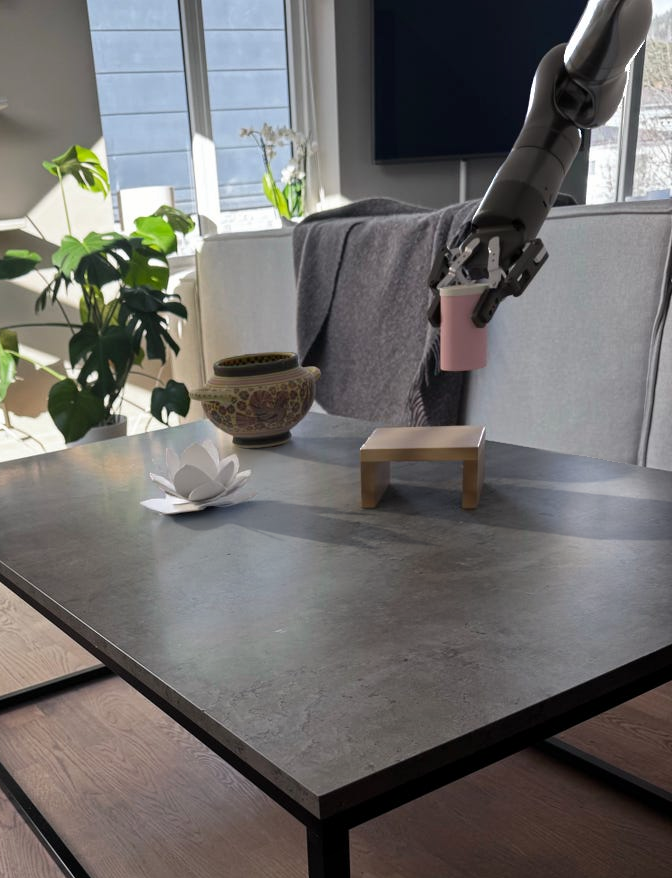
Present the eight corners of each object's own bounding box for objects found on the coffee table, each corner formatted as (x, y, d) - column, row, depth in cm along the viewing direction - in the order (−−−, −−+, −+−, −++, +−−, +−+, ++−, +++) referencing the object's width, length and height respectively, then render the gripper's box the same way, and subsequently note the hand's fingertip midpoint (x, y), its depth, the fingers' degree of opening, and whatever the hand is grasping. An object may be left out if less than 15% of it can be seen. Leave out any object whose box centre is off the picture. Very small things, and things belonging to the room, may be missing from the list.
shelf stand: (484, 482, 112) (485, 424, 109) (476, 508, 103) (478, 446, 100) (377, 482, 117) (376, 427, 114) (361, 508, 107) (359, 449, 104)
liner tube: (488, 362, 109) (490, 282, 106) (485, 369, 105) (487, 286, 101) (442, 365, 111) (442, 286, 108) (437, 372, 107) (437, 290, 103)
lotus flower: (117, 514, 115) (112, 443, 112) (200, 497, 125) (197, 432, 122) (197, 525, 105) (194, 448, 102) (281, 506, 115) (280, 435, 112)
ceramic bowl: (299, 438, 157) (280, 349, 154) (365, 423, 141) (346, 324, 138) (177, 469, 146) (154, 374, 143) (234, 456, 131) (210, 350, 128)
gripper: (452, 184, 109) (389, 303, 108) (564, 169, 99) (496, 301, 97) (477, 229, 114) (418, 343, 113) (586, 219, 104) (522, 345, 102)
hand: (454, 323), depth 105 cm, fingers closed on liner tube, 5 cm apart
